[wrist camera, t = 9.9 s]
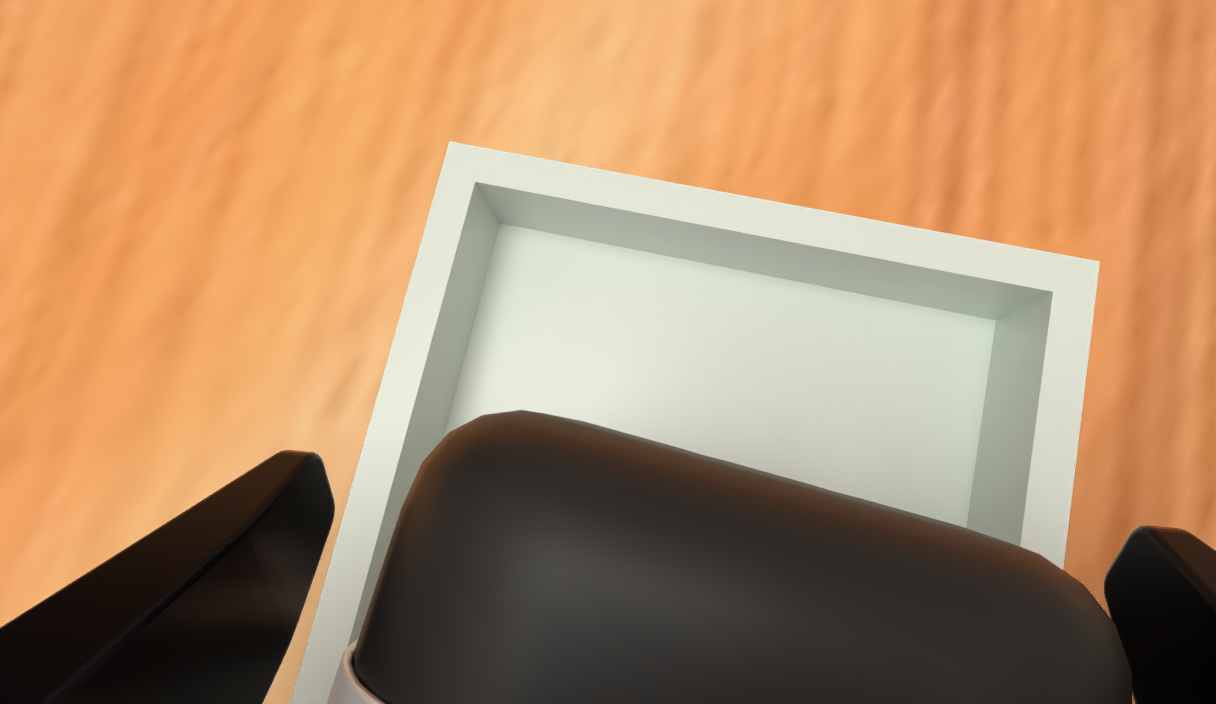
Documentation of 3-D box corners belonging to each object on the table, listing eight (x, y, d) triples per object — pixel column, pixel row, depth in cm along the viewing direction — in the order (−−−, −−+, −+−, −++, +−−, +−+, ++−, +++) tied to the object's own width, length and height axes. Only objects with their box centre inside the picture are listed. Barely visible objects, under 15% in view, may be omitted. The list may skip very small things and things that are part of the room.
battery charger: (855, 529, 16) (1302, 583, 5) (818, 705, 16) (1240, 1217, 4) (557, 444, 17) (375, 329, 6) (509, 609, 16) (198, 833, 5)
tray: (918, 1010, 15) (992, 1161, 12) (317, 829, 17) (229, 917, 13) (1015, 305, 18) (1099, 261, 14) (487, 202, 19) (449, 141, 16)
